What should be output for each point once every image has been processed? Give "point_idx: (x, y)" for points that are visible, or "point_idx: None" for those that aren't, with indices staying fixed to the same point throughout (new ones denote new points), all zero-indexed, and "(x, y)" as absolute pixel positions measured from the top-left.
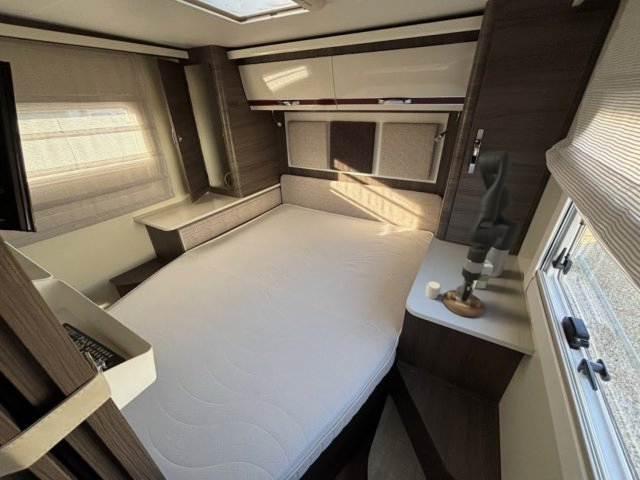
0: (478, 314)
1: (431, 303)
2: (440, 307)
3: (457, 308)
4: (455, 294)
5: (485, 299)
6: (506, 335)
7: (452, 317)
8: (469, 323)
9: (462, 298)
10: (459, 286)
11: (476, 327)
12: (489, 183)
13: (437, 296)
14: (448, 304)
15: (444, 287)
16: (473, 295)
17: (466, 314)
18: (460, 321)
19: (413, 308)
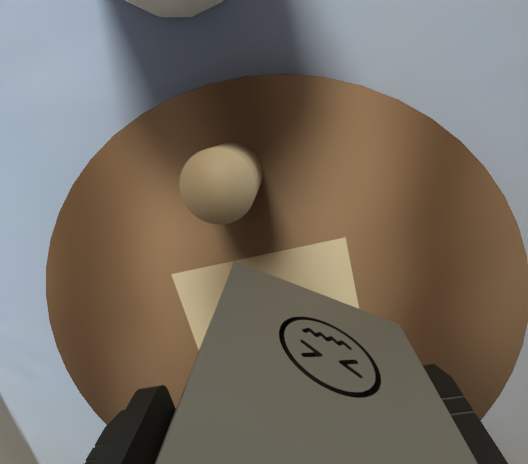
0: None
1: (10, 5)
2: (39, 138)
3: (110, 316)
4: (228, 279)
5: (507, 459)
6: None
7: (5, 291)
8: (60, 415)
9: (126, 428)
10: (275, 450)
11: (62, 459)
12: None
13: (166, 10)
14: (95, 213)
15: (517, 4)
16: (486, 395)
17: (93, 403)
18: (19, 358)
19: None
